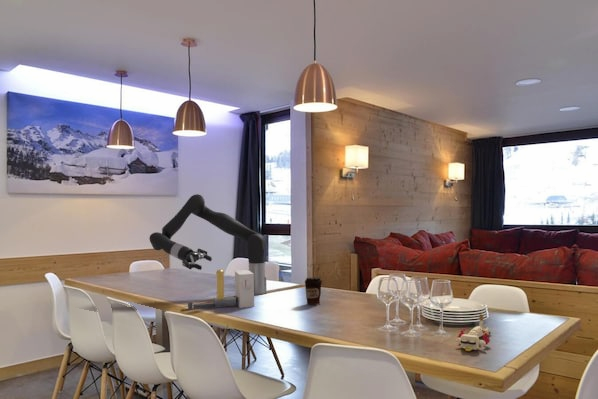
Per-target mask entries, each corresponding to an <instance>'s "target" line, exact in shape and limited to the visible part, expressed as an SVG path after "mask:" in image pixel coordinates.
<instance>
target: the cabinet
mask: <svg viewBox="0 0 598 399" xmlns="http://www.w3.org/2000/svg"><path fill="white" fill-rule="evenodd" d="M234 289H235V291H234V292H235V293H234V294H235V296H234V298H235V299H236V301H237V302H238V307H239V308H240V309H243V308H244V307H245V308H254V307H255V295H254V274H253V273H252V272H250V271H249V269H248V270H234Z"/></svg>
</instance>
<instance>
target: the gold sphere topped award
mask: <svg viewBox="0 0 598 399" xmlns="http://www.w3.org/2000/svg"><path fill="white" fill-rule="evenodd" d="M215 275H216V277H215V278H216V297H214V298H213V302H214V303H215V307H216V308H225V306H228V307H237V306H236V299H235V296H225V279H224V278H225V277H224V275H225V273H224V271H223V269H217V271H216V273H215Z"/></svg>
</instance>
